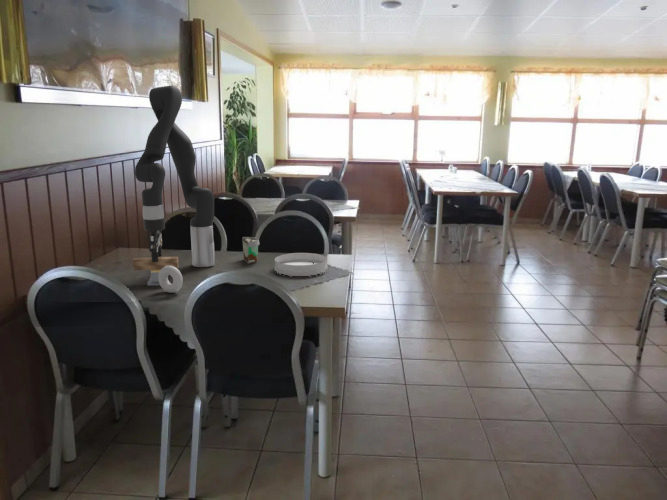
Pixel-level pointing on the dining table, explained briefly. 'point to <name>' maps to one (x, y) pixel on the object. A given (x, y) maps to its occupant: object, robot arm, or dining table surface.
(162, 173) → the robot arm
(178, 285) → the donut
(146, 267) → the walnut bar
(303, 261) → the dish
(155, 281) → the ridge block
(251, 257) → the food container
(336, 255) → the dining table surface
